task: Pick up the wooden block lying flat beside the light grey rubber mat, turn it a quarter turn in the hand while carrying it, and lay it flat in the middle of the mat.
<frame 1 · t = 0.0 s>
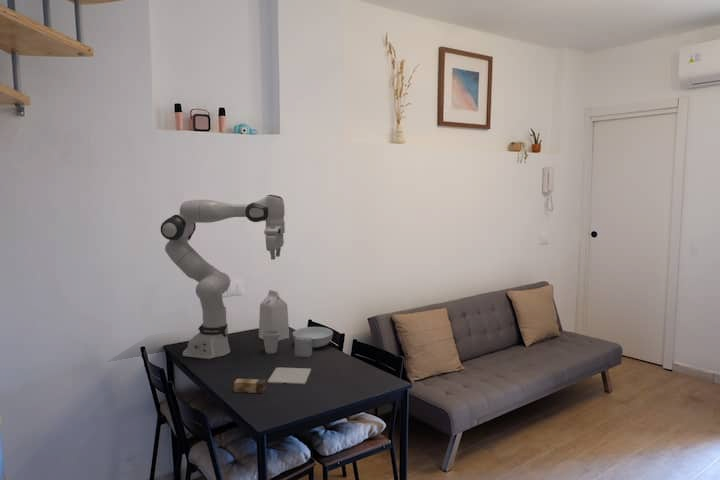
hand: (275, 257, 235), 48 cm above the table, tool pointing down, fingers open, 8 cm apart
wooden block: (250, 390, 199), on the table
milk: (274, 338, 267), on the table
dixie cup: (271, 351, 245), on the table
mat: (290, 376, 214), on the table
medicine box: (303, 356, 240), on the table
serving bowl: (312, 345, 255), on the table
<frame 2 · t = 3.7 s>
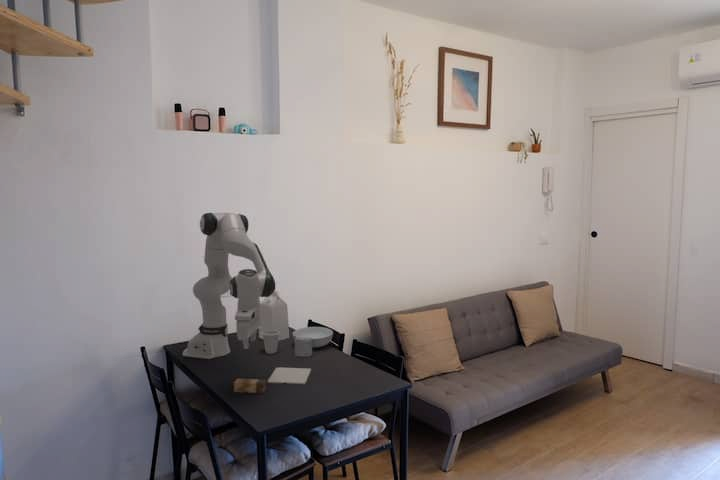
hand: (249, 344, 197), 19 cm above the table, tool pointing down, fingers open, 8 cm apart
nothing on the table moved.
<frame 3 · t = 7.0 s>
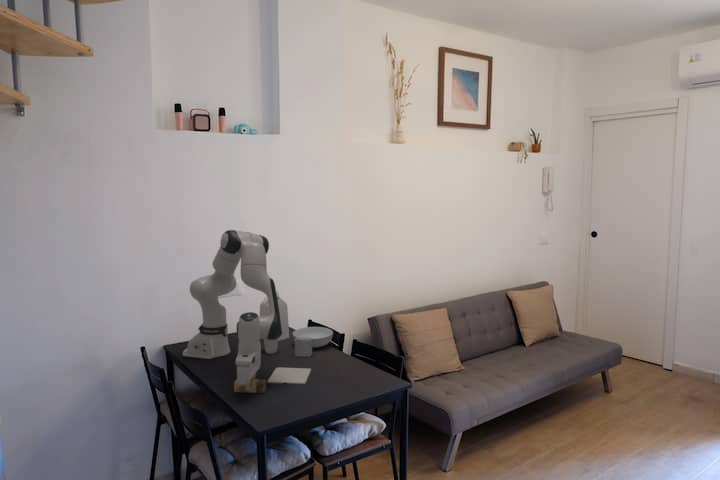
hand: (250, 386, 199), 2 cm above the table, tool pointing down, fingers closed on wooden block, 4 cm apart
wooden block: (250, 390, 199), on the table, touching gripper
everything else where it was.
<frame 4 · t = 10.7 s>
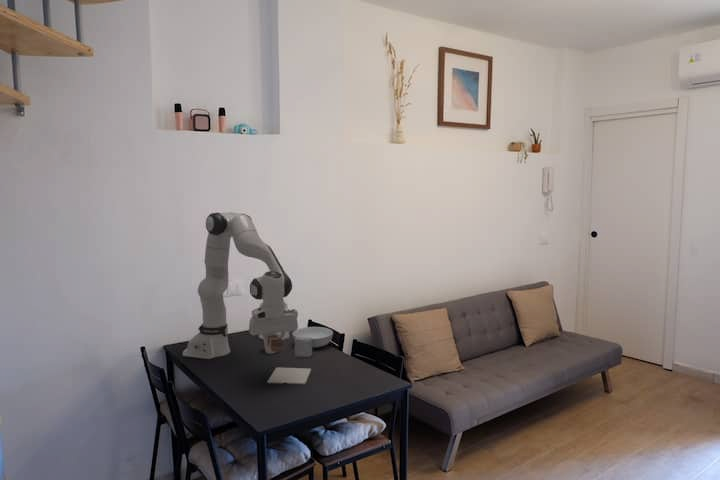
hand: (273, 342, 206), 17 cm above the table, tool pointing down, fingers closed on wooden block, 4 cm apart
wooden block: (274, 346, 206), point 15 cm above the table, touching gripper
everything else where it was.
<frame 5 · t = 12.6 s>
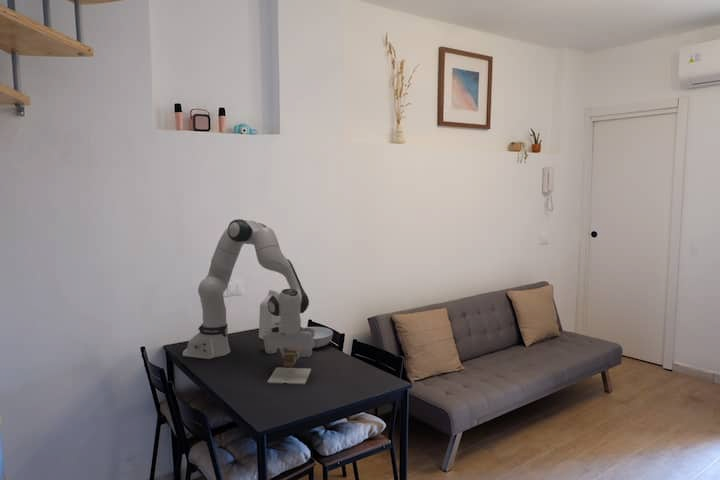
hand: (291, 357, 213), 8 cm above the table, tool pointing down, fingers closed on wooden block, 4 cm apart
wooden block: (291, 361, 213), point 7 cm above the table, touching gripper
everything else where it was.
when the fingers open (4 cm above the table, at t = 14.2 s): wooden block drops 1 cm, resting on mat.
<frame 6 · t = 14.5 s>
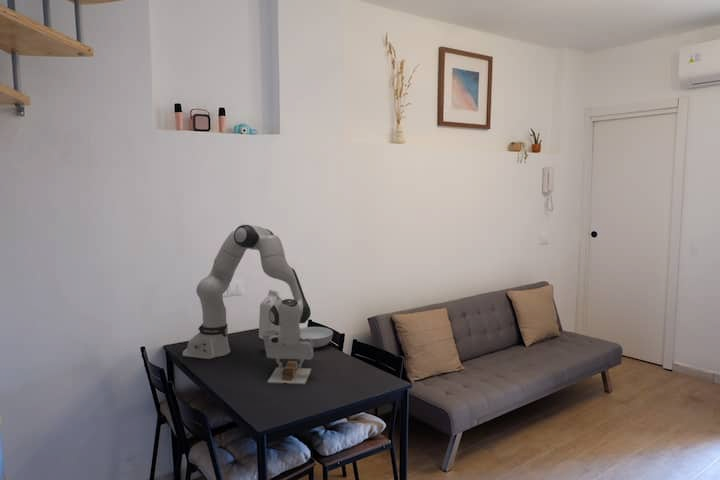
hand: (290, 368, 214), 4 cm above the table, tool pointing down, fingers open, 7 cm apart
wooden block: (290, 374, 214), point 1 cm above the table, touching mat
everything else where it was.
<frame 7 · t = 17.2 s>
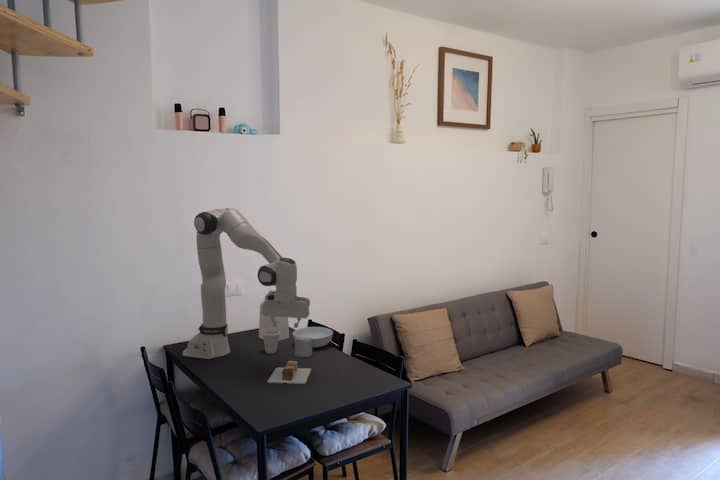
hand: (285, 326, 214), 21 cm above the table, tool pointing down, fingers open, 8 cm apart
nothing on the table moved.
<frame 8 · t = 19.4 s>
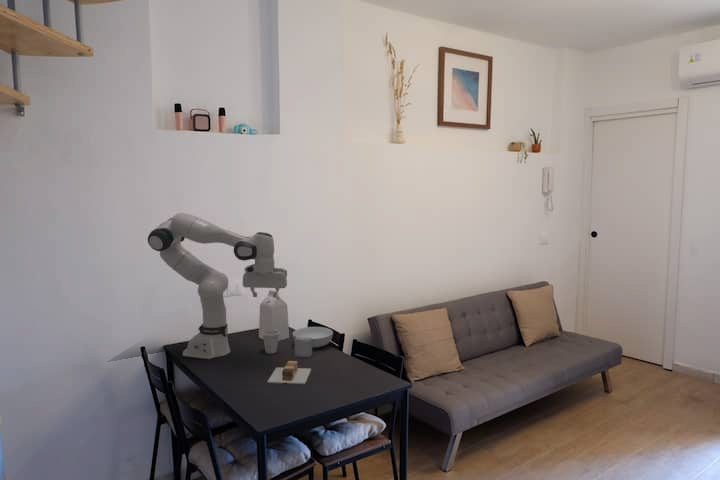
hand: (265, 297, 227), 31 cm above the table, tool pointing down, fingers open, 8 cm apart
nothing on the table moved.
at the end: wooden block inside the target area on the mat (0.1 cm from its centre), point 0.6 cm above the mat's base; wooden block tilted 0°; the gripper is holding nothing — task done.
